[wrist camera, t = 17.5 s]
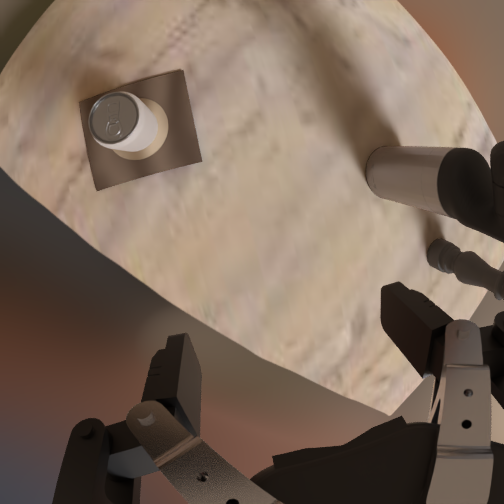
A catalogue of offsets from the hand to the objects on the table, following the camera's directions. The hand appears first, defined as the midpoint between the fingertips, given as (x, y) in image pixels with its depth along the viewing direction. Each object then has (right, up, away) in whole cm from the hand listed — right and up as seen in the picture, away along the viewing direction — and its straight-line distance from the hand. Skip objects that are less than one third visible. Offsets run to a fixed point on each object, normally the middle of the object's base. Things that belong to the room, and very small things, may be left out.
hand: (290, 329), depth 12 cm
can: (-18, +20, +26) cm, 37 cm away
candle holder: (+37, +3, +43) cm, 57 cm away
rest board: (-18, +20, +27) cm, 38 cm away
